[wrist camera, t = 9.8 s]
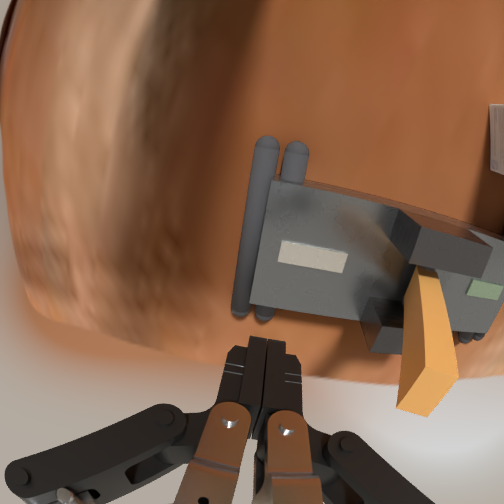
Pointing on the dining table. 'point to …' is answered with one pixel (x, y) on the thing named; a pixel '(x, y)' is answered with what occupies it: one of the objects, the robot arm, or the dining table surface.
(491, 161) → the light bulb box
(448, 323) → the breaker lever
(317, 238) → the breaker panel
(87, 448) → the robot arm
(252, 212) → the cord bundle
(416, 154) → the dining table surface
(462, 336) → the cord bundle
